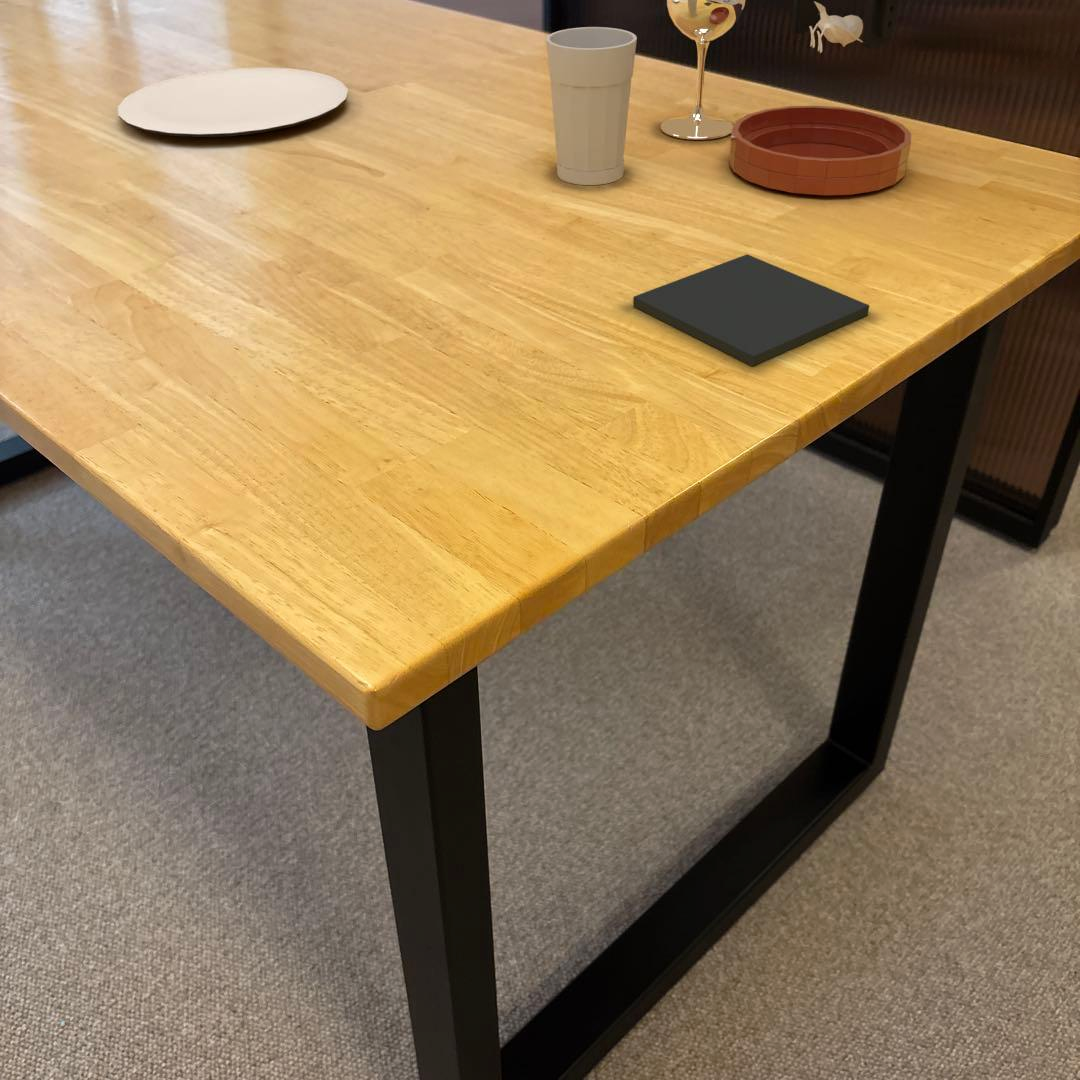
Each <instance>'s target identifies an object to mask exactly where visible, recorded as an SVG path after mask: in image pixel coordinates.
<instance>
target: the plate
mask: <svg viewBox="0 0 1080 1080" xmlns="http://www.w3.org/2000/svg"><path fill="white" fill-rule="evenodd" d="M348 95H349V89H348V88H347V86H346V85H345V83H344V82H342V81H341V80H338V79H337V78H334V77H333V76H330V75H328V74H325V73H321V72H317V71H312V70H306V69H299V68H289V67H267V66H265V67H264V66H263V67H237V68H228V69H227V68H226V69H216V70H208V71H202V72H196V73H190V74H186V75H185V74H184V75H180V76H177V77H173V78H168V79H165V80H160V81H158V82H155V83H151V84H150V85H147V86H144V87H142V88H139V89H137V90H135V91H134V92H132V93H130V94H129V95H127V96H125V98H124V99H123V100H122V101H121V102H120V104H119V105H118V106H117V115H118V118H119V119H121V120H122V121H123V122H124V123H125V124H126V125H128V126H129V127H132V128H135V129H138V130H141V131H144V132H147V133H152V134H153V133H154V134H158V135H165V136H171V137H172V136H173V137H192V138H194V137H195V138H217V137H219V138H220V137H237V136H246V135H255V134H261V133H266V132H271V131H276V130H281V129H286V128H290V127H295V126H298V125H302V124H305V123H308V122H311V121H315V120H318V119H320V118H322V117H324V116H326V115H328V114H330V113H332V112H334V111H336V110H337V109H338V108H339V107H341V105H342V104H343V105H344V103H345V102H346V101H347V99H348Z"/></svg>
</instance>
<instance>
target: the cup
mask: <svg viewBox="0 0 1080 1080" xmlns="http://www.w3.org/2000/svg"><path fill="white" fill-rule="evenodd" d="M637 40H638V37H637V35H636V34H634V33H633V32H631V31H629V30H625V29H622V28H615V27H614V28H613V27H604V26H585V27H583V26H582V27H573V28H565V29H561V30H558V31H555V32H552V33H550V34H548V35H547V37H546V49H547V62H548V70H549V80H550V91H551V103H552V116H553V128H554V139H555V152H556V177H558V178H559V179H560V180H561V181H564V182H565V183H569V184H574V185H580V186H599V185H606V184H611V183H614V182H616V181H619V180H621V179H622V178H623V176H624V173H625V158H624V155H625V146H626V136H627V126H628V115H629V106H630V95H631V88H632V87H631V86H632V79H633V76H634V67H635V57H636V49H637Z"/></svg>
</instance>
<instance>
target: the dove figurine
mask: <svg viewBox="0 0 1080 1080" xmlns="http://www.w3.org/2000/svg"><path fill="white" fill-rule="evenodd" d="M814 2H815V1H814ZM815 4H816V6H817V8H818V9H819V11H820V17H821V19H820V21H819V22H818V23H817V24H816V26H815V28H814V29H812V27H811V26H809V27H810V31H809V32H810V45H809V46H810V47H812V49H814V48H815V47H816V39H815V31H816V33H817V39H818V41H817V43H818V44H817V52H819V54H821V53H823V41H822V37H823V36H824V37H825V39H826V40H827V41H828V42H830V43H832V44H841V45H842V47H843V48H844V47H846V45H848V44H850V43H854V42H855V41H858V42H860V43H863V39H861V38H860V37H861V35H862V33H863V30H864V29H863V28H864V23H863V19H862V18H861V17H859V15H854V14H849V15H845V16H843V17H842V16H840V15H834V14H832V15H828V13H827V9H826V6H824V5H823V4H822V5H821V4H819V3H817V2H815ZM818 14H819V13H818ZM817 26H818V28H819V29H820V31H821V33H820V31H819V30H817V29H818V28H817ZM816 28H817V29H816Z"/></svg>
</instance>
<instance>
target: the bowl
mask: <svg viewBox="0 0 1080 1080" xmlns="http://www.w3.org/2000/svg"><path fill="white" fill-rule="evenodd" d="M730 134H731V135H730V143H729V145H730V147H729V156H728V163H729V166H730V167H731V170H732V171H733V172H734V173H736V174H737V175H738V176H739V177H741V178H743V179H744V180H746V181H747V182H750V183H752V184H756V185H759V186H761V187H764V188H767V189H772V190H777V191H782V192H786V193H791V194H801V195H811V196H812V195H815V196H849V195H850V196H851V195H857V194H863V193H870V192H877V191H879V190H883V189H885V188H888V187H891V186H894V185H896V184H897V183H898V182H899V181H900V180H901V179H903V178H904V176H906V171H907V165H908V162H909V161H908V160H909V157H910V156H909V155H910V149H911V144H912V132H911V131H910V130H909V129H908V128H907V127H906V126H905V125H904V124H902V123H900V122H899V121H896V120H894V119H892V118H890V117H888V116H885V115H882V114H878V113H874V112H871V111H867V110H861V109H855V108H848V107H842V106H827V105H788V106H781V107H774V108H773V107H772V108H766V109H765V108H764V109H763V110H758V111H755V112H751V113H748V114H746V115H744V116H742V117H741V118H739V119H737V120H736V121H735V122H734V123H733V128H732V132H731V133H730Z"/></svg>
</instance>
